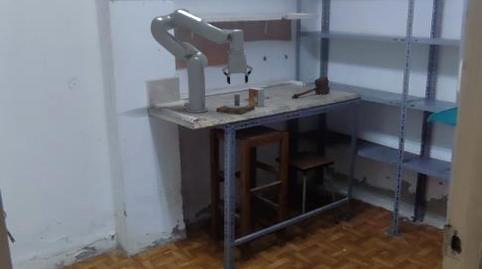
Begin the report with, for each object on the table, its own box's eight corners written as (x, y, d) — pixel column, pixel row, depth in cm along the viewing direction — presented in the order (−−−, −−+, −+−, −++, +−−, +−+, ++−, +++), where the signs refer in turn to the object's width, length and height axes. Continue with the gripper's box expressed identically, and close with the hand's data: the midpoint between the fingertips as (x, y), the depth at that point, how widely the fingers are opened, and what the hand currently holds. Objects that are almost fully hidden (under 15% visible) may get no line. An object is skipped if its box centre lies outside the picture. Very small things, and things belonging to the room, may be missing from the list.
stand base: (216, 111, 281) (216, 107, 280) (230, 106, 294) (230, 103, 294) (241, 114, 273) (241, 110, 273) (254, 109, 287) (254, 105, 286)
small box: (248, 105, 298) (248, 88, 296) (254, 104, 302) (254, 87, 299) (258, 107, 293) (258, 89, 290) (264, 105, 296) (264, 88, 294)
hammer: (330, 91, 336) (329, 77, 333) (297, 107, 318) (295, 92, 314) (323, 90, 341) (321, 76, 338) (290, 105, 323) (288, 91, 319)
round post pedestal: (221, 107, 281) (221, 94, 279) (231, 104, 291) (231, 91, 289) (239, 109, 276) (239, 96, 274) (250, 105, 286) (249, 92, 284)
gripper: (222, 53, 267) (223, 85, 271) (253, 52, 270) (254, 83, 274) (220, 52, 274) (221, 83, 278) (250, 51, 277) (251, 81, 281)
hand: (237, 83), depth 276 cm, fingers open, 9 cm apart
